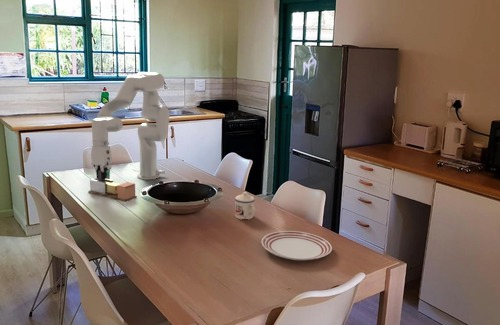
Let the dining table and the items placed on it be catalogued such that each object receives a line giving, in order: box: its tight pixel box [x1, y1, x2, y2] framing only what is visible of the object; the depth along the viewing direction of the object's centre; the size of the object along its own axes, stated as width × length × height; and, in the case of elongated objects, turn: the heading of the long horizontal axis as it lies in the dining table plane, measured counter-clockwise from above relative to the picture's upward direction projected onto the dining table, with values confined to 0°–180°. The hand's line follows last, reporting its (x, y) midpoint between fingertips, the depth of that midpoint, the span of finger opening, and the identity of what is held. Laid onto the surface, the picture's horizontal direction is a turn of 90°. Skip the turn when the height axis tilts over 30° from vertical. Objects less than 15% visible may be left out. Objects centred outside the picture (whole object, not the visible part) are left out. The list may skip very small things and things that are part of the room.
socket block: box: [118, 181, 136, 200], centre depth 234 cm, size 5×7×6 cm
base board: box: [87, 190, 138, 203], centre depth 239 cm, size 25×8×1 cm, turn 62°
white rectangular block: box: [89, 177, 114, 194], centre depth 241 cm, size 10×6×6 cm, turn 62°
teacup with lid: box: [234, 191, 256, 220], centre depth 215 cm, size 12×9×12 cm
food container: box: [101, 166, 112, 180], centre depth 258 cm, size 12×6×10 cm, turn 179°
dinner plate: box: [261, 230, 333, 261], centre depth 184 cm, size 27×27×3 cm
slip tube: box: [98, 170, 121, 194], centre depth 239 cm, size 14×4×10 cm, turn 62°
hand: (101, 178), depth 240 cm, fingers closed on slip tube, 2 cm apart
